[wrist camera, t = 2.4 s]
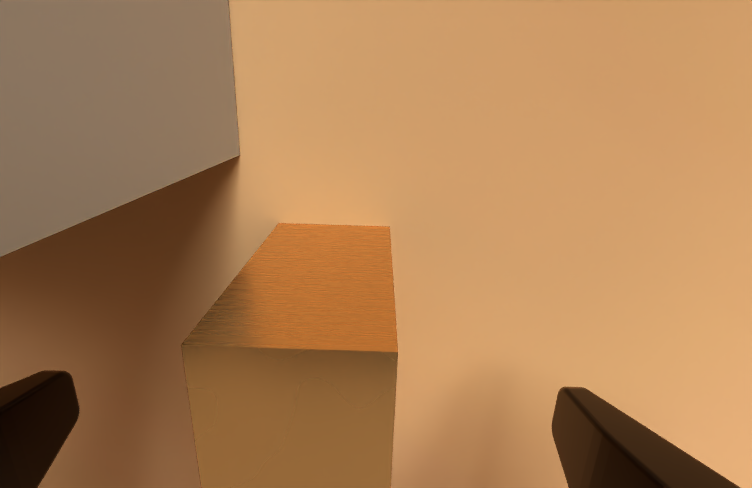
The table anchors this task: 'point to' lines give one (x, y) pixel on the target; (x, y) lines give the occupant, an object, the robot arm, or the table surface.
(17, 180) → the box
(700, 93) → the table surface
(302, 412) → the block
